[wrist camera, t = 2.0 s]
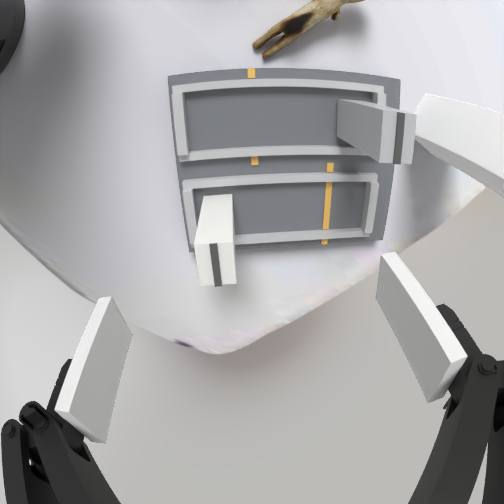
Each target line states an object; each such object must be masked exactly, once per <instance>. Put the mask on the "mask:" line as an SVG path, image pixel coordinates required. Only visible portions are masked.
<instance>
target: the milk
mask: <svg viewBox="0 0 504 504" xmlns="http://www.w3.org/2000/svg"><path fill="white" fill-rule="evenodd" d="M413 114H416V115H417V119H416V131H415V140H416V141H417V142H418V143H419V144H421V145H422V146H423V147H424V148H425V149H426V150H427V151H429V152H430V153H431V154H432V155H433V156H435V157H437V158H439V159H441V160H442V161H444V162H446V163H448V164H450V165H452V166H453V167H455V168H457V169H459V170H460V171H462V172H464V173H466V174H467V175H469V176H471V177H472V178H474V179H476V180H477V181H479V182H480V183H482V184H484V185H485V186H487V187H488V188H490V189H492V190H493V191H495V192H496V193H498V194H499V195H501V196H502V197H504V113H501V112H498V111H495V110H491V109H488V108H485V107H481V106H478V105H474V104H470V103H467V102H463V101H459V100H454V99H450V98H446V97H441V96H436V95H431V94H426V93H425V94H424V95H423V97H422V99H421V101H420V103H419V105H418V106H417V108H416V110H415V112H414V113H413Z"/></svg>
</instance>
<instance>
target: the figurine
mask: <svg viewBox="0 0 504 504" xmlns="http://www.w3.org/2000/svg"><path fill="white" fill-rule="evenodd" d="M361 1H364V0H314V1H312V2H310V3H308V4H307V5H305V6H304V7H302V8H301V9H299V10H298V11H296V12H295V13H293V14H292V15H291V16H289V17H288V18H286V19H284V20H282V21H281V22H279V23H278V24H276V25H275V26H274V27H272V28H271V29H270V30H269V31H268V32H267V33H265V35H263V36H262V37H261V38H259V39H258V40H256V41H255V42H254V43H253V46H254V47H255V48H256V49H258V48H260V47H261V46H262V45H263V44H265V43H266V42H267V41H268V40H270V39H271V38H273V37H275V36H276V35H278V34H280V33H282V32H283V33H284V35H283V36H282V37H281V38H280V39H279V40H278V41H277V42H276V43H275V44H274V45H273V46H271V47H270V48H269V49H267V50H266V51H264V52H263V53H262V56H263V57H264V58H265V59H266V58H268V57H270V56H271V55H273V54H275V53H276V52H277V51H279V50H280V49H282V48H283V47H285V46H286V45H288V44H290V43H291V42H292V41H293V40H295V39H296V38H297V37H299V36H300V35H301V34H302V33H304V32H305V31H307V30H309V29H310V28H312V27H313V26H315V25H316V24H318V23H319V22H321V21H322V20H324V19H326V18H328V17H329V16H331V15H332V16H331V19H332V20H337V19H338V17H339V14H340V11H339V9H340V7H341V6H342V5H343V4H345V3H356V2H361Z"/></svg>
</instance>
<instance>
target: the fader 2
mask: <svg viewBox="0 0 504 504" xmlns="http://www.w3.org/2000/svg"><path fill="white" fill-rule="evenodd" d="M416 119H417V115H416V114H413V113H409V112H406V111H402V110H399V109H395V108H391V107H387V106H383V105H379V104H375V103H371V102H366V101H358V100H347V99H338V107H337V137H339V138H341V139H342V140H344V141H346V142H347V143H349V144H351V145H352V146H354V147H355V148H357V149H359V150H360V151H362V152H363V153H365V154H367V155H368V156H370V157H371V158H373V159H374V160H376V161H377V162H379V163H393V164H412V159H413V150H414V141H415V131H416Z"/></svg>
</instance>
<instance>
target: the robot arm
mask: <svg viewBox="0 0 504 504" xmlns="http://www.w3.org/2000/svg"><path fill="white" fill-rule="evenodd" d="M24 12H25V9H24V1H23V0H0V73H1V72H2V71H3V69H4V68H5V66H6V65H7V63H8V62H9V60H10V58H11V56H12V54H13V52H14V50H15V48H16V46H17V43H18V41H19V38H20V35H21V31H22V27H23V22H24ZM376 300H377V301H378V303H379V305H380V307H381V309H382V310H383V312H384V314H385V316H386V318H387V320H388V322H389V324H390V326H391V328H392V329H393V331H394V333H395V335H396V337H397V339H398V341H399V343H400V345H401V347H402V349H403V351H404V353H405V355H406V357H407V359H408V361H409V363H410V365H411V368H412V370H413V372H414V374H415V376H416V378H417V380H418V382H419V384H420V387H421V389H422V391H423V393H424V396H425V398H426V400H427V402H428V403H429V402H432V401H435V400H437V399H440V398H442V397H443V396H444V395H445V393H446V392H447V390H449V392H450V394H451V397H450V398H449V399H448V401H447V402H446V404H445V405H444V407H443V409H446V412H445V415H444V418H443V421H442V425H441V427H440V431H439V434H438V436H437V439H436V442H435V444H434V447H433V450H432V452H431V455H430V457H429V460H428V462H427V464H426V467H425V469H424V471H423V474H422V476H421V478H420V480H419V482H418V485H417V487H416V489H415V491H414V493H413V495H412V497H411V499H410V501H409V503H408V504H468V501H469V499H470V496H471V493H472V491H473V488H474V485H475V482H476V479H477V476H478V474H479V470H480V467H481V464H482V461H483V457H484V453H485V450H486V446H487V442H488V453H487V468H486V478H485V486H484V494H483V500H482V504H504V360H503V361H496V360H495V359H494V358H493V357H492V356H490V355H487V354H482V352H481V351H480V350H479V348H478V347H477V345H476V343H475V342H474V340H473V339H472V337H471V336H470V334H469V333H468V331H467V330H466V328H464V325H463V324H462V322H461V321H459V318H458V317H457V315H456V314H455V312H454V311H453V310H452V309H450V308H449V307H448V306H446V305H445V304H442V305H438V306H435V305H434V304H433V302H432V301H431V299H430V298H429V297H428V295H427V294H426V293H425V291H424V290H423V288H422V287H421V285H420V284H419V283H418V281H417V280H416V279H415V277H414V276H413V275H412V273H411V272H410V271H409V269H408V268H407V267H406V265H405V264H404V263H403V261H402V260H401V259H400V258H399V256H398V255H397V254H396V252H390V253H385V254H381V259H380V268H379V277H378V285H377V292H376ZM131 338H132V333H131V331H130V329H129V328H128V326H127V324H126V322H125V320H124V319H123V317H122V315H121V313H120V311H119V309H118V307H117V306H116V304H115V302H114V300H113V298H112V296H111V297H103V298H99V300H98V302H97V304H96V306H95V308H94V310H93V313H92V315H91V317H90V319H89V322H88V324H87V326H86V328H85V331H84V333H83V335H82V338H81V340H80V342H79V345H78V347H77V350H76V352H75V355H74V357H73V359H68V360H67V362H66V363H65V364H64V365H63V367H62V368H61V371H60V374H59V378H58V379H57V381H56V386H55V387H54V389H53V392H52V395H51V398H50V400H49V404H48V406H47V409H46V410H45V409H44V408H43V407H42V406H41V405H40V404H39V403H37V402H35V401H31V402H28V403H26V404H25V406H23V408H22V409H21V411H20V415H19V421H20V422H21V423H22V424H24V425H21V424H20V423H19V422H18V421H17V420H14V419H10V420H8V421H7V422H6V423H5V424H4V425H3V428H2V432H1V447H2V466H3V478H4V487H5V495H6V501H7V504H121V503H120V502H119V501H118V499H117V497H116V496H115V494H114V493H113V491H112V489H111V488H110V487H109V485H108V483H107V481H106V480H105V478H104V476H103V475H102V473H101V471H100V469H99V468H98V466H97V464H96V462H95V461H94V458H93V457H92V455H91V453H90V451H89V449H88V447H87V445H86V444H85V443H84V442H83V440H84V436H85V437H86V438H88V439H89V440H90V441H92V442H97V443H106V440H107V435H108V430H109V425H110V420H111V416H112V411H113V407H114V403H115V398H116V394H117V390H118V386H119V382H120V378H121V374H122V370H123V366H124V363H125V359H126V355H127V352H128V348H129V344H130V341H131ZM446 407H447V408H446ZM29 459H30V460H31V465H30V464H29Z"/></svg>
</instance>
